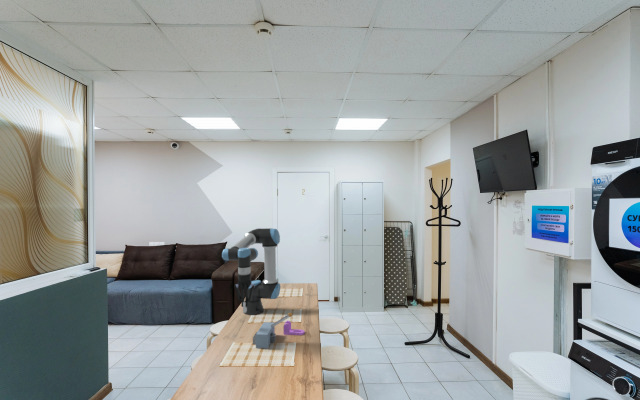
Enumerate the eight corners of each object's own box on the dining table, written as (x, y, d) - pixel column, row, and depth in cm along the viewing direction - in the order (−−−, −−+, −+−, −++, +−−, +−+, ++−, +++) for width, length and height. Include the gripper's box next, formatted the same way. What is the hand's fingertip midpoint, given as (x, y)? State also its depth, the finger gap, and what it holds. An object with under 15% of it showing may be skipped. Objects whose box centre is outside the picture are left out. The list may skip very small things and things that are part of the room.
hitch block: (263, 334, 192) (263, 322, 192) (274, 334, 191) (274, 322, 191) (255, 347, 174) (255, 334, 174) (267, 348, 173) (267, 334, 173)
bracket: (283, 334, 191) (283, 323, 192) (285, 331, 197) (285, 320, 197) (303, 335, 190) (303, 324, 190) (305, 331, 196) (304, 321, 196)
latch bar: (272, 327, 183) (270, 323, 184) (293, 314, 183) (291, 311, 183) (272, 328, 181) (269, 325, 181) (292, 316, 180) (290, 312, 180)
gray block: (256, 338, 187) (256, 331, 187) (276, 338, 186) (276, 332, 186) (252, 344, 178) (252, 337, 178) (273, 344, 178) (273, 338, 178)
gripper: (231, 275, 180) (232, 314, 181) (253, 275, 180) (253, 314, 180) (236, 272, 188) (236, 309, 188) (256, 272, 187) (257, 309, 187)
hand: (245, 311), depth 184 cm, fingers closed
